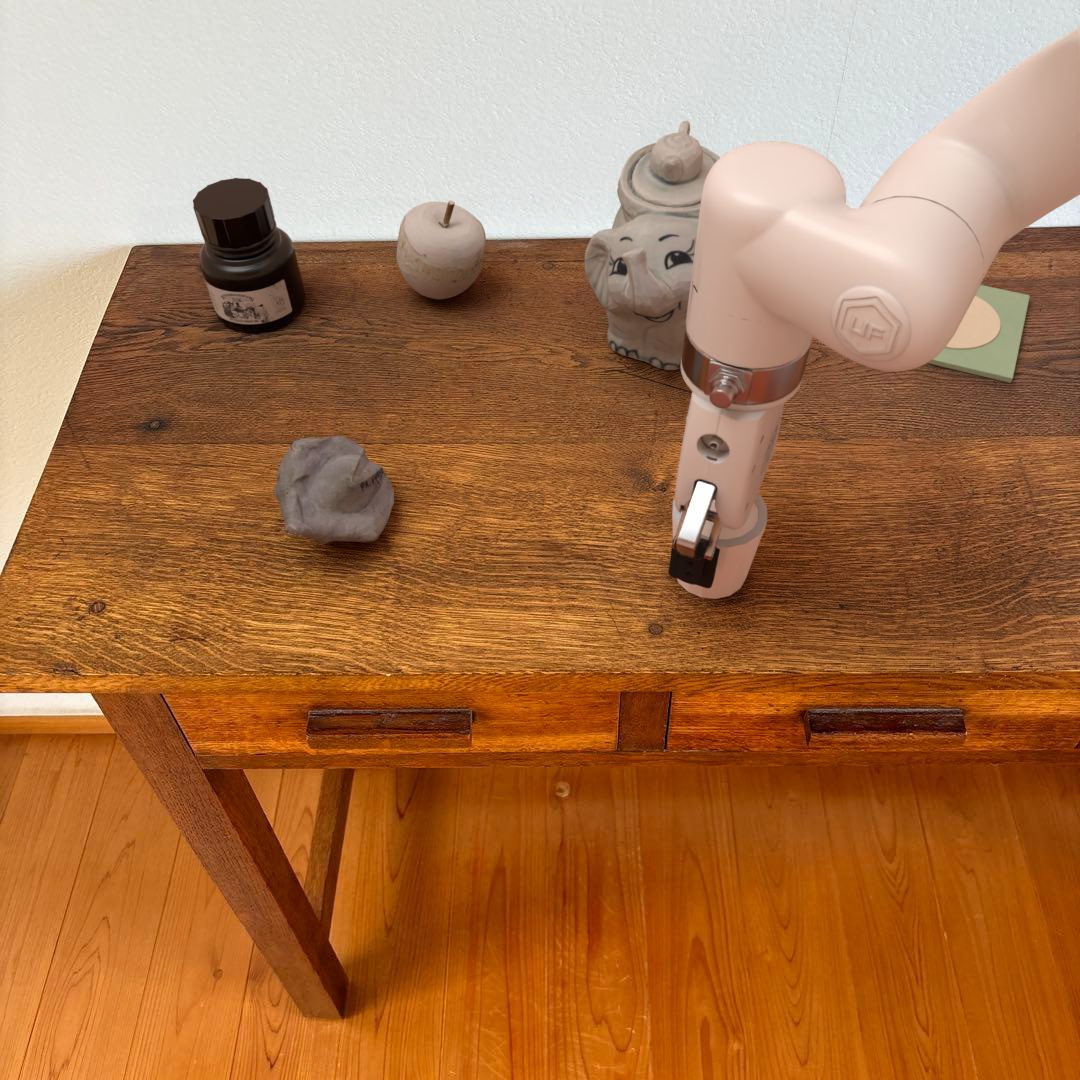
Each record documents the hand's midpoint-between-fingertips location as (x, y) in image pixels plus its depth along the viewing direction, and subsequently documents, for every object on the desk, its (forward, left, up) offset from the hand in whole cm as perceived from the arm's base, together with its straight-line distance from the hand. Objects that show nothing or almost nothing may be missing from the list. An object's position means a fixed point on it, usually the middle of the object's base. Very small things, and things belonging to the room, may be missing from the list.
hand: (711, 531), depth 75 cm
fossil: (+29, +7, -5) cm, 30 cm away
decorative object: (+35, -24, -5) cm, 42 cm away
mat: (-12, -37, -4) cm, 39 cm away
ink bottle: (+51, -15, -5) cm, 53 cm away
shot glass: (0, 0, -5) cm, 5 cm away
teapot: (+13, -24, -5) cm, 27 cm away
